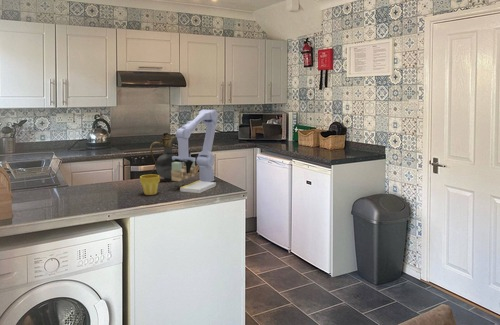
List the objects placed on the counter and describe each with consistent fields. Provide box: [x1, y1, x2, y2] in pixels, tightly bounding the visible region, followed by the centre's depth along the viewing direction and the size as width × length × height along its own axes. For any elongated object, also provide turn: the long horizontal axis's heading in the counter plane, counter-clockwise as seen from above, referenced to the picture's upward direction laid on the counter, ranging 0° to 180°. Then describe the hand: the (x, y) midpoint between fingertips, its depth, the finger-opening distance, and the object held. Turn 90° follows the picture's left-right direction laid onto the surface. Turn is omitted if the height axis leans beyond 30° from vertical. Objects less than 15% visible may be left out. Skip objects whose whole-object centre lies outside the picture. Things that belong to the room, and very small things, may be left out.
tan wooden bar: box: [171, 165, 197, 182], centre depth 245 cm, size 18×5×6 cm, turn 157°
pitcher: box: [149, 132, 177, 182], centre depth 262 cm, size 11×19×30 cm, turn 118°
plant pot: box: [139, 174, 161, 196], centre depth 230 cm, size 10×10×10 cm
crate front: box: [172, 161, 183, 170], centre depth 238 cm, size 4×4×4 cm
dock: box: [179, 180, 217, 194], centre depth 243 cm, size 20×12×2 cm, turn 157°
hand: (184, 172), depth 245 cm, fingers closed on tan wooden bar, 5 cm apart
